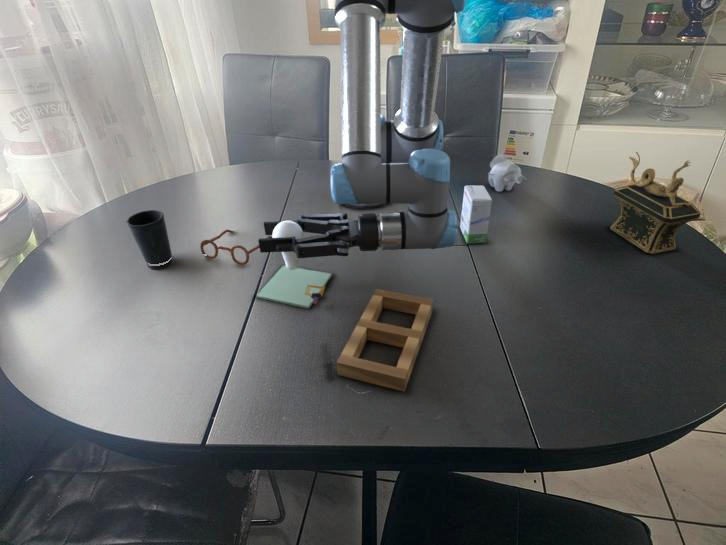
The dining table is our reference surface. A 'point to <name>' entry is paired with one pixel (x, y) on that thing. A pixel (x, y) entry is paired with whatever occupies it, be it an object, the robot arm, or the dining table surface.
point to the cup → (151, 237)
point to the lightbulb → (288, 230)
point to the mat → (293, 286)
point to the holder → (386, 340)
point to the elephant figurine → (504, 174)
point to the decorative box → (652, 211)
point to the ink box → (475, 214)
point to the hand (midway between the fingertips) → (262, 236)
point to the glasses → (227, 248)
